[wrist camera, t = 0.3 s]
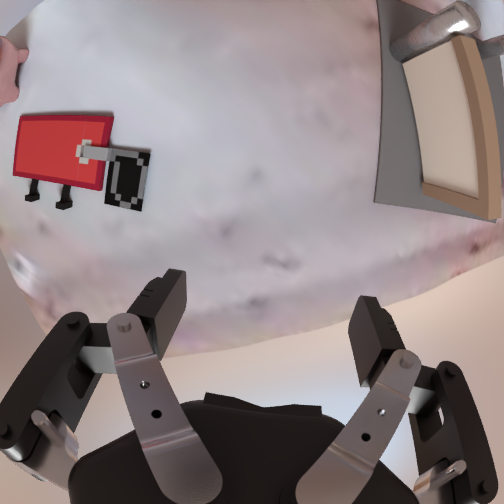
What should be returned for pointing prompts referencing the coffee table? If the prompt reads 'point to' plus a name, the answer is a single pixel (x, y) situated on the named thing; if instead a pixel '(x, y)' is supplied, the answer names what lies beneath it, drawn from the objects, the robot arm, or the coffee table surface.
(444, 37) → the brushed steel cylinder
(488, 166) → the picture frame
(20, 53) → the piggy bank
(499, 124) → the yard mat
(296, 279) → the coffee table surface
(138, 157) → the red board with handle
